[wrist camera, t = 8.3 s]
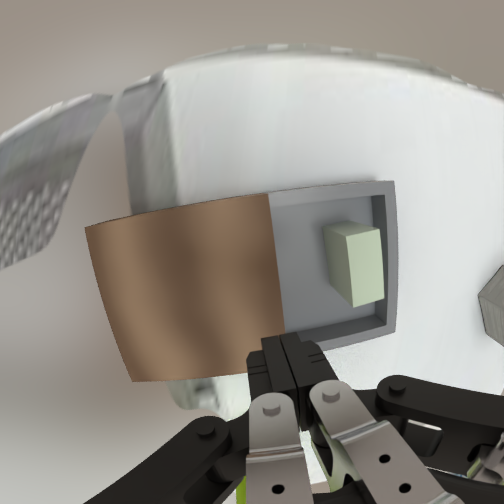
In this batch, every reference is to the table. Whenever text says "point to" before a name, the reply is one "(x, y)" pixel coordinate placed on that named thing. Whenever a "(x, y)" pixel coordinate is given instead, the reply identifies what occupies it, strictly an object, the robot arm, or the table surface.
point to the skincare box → (494, 306)
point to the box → (316, 266)
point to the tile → (355, 261)
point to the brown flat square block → (189, 286)
